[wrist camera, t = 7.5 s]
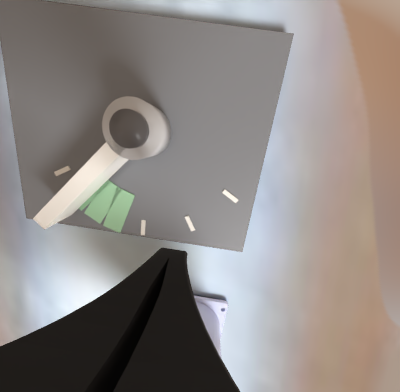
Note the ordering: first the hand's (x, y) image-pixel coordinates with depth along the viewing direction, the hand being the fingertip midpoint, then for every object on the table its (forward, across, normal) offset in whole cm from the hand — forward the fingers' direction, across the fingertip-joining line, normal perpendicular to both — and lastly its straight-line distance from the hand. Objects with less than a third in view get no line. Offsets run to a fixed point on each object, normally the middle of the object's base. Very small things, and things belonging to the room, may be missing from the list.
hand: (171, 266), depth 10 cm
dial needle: (+8, +7, -3) cm, 11 cm away
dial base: (+9, +5, -5) cm, 12 cm away
